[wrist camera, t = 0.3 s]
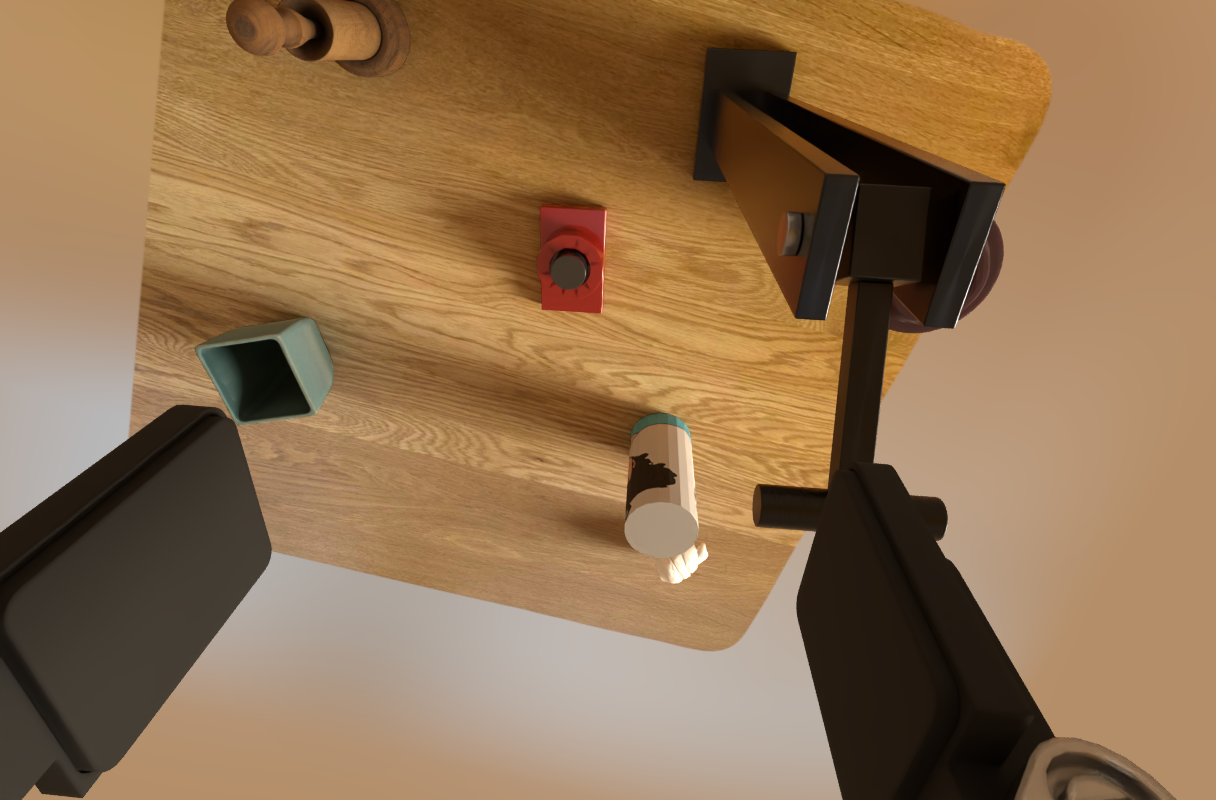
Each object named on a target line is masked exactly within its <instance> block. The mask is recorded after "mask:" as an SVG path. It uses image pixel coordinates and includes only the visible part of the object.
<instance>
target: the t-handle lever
mask: <svg viewBox="0 0 1216 800" xmlns="http://www.w3.org/2000/svg"><path fill="white" fill-rule="evenodd" d="M931 194H932V188H929V187H911V186H893V185H875V184H858V188H857V193H856V197H855V201H854V205H853V209H852V214H851V218H850V222H849V226H848V230H847V235H846V239H845V243H844V247H843V251H842V255H841V260H840V264H839V268H838V272H837V276H836V281H835V285H843V286H849V287H848V297H847V307H846V316H845V326H844V336H843V345H842V355H841V365H840V375H839V384H838V394H837V404H836V414H835V423H834V433H833V443H832V452H831V462H830V472H829V482H828V489H821V488H807V487H794V486H781V485H768V484H757V485H756V488H755V490H754V495H753V520H754V524H755V526H757V527H764V528H777V529H790V530H803V531H815V532H816V530H817V527H818V524H819V520H820V517H821V513H822V510H823V507H824V503H825V500H826V497H827V493H828V490H829V486H830V483H831V480H832V477H833V474H834V473H835V471H836V470H845V469H846V467H847V465H848V464H849V463H850V462H865V463H874V458H875V449H876V440H877V431H878V422H879V413H880V404H881V395H882V385H883V376H884V367H885V358H886V349H887V340H888V331H889V322H890V313H891V303H892V294H893V287H897V286H902V285H906V284H911V283H915V282H920V281H921V280H922V273H923V264H924V255H925V247H926V238H927V229H928V220H929V211H930V203H931ZM910 497H911V498H912V500H913V502H914V504H915V505H916V507H917V509H918V511H919V512H920V514H921V516H922V518H923V519H924V521H925V523H926V525H927V526H928V528H929V530H930V532H931V533H932V535H933V537H934V539H935V540H936V541H939V540H941V539H942V538H943V537H944V535H945V533H946V530H947V525H948V515H947V510H946V507H945V505H944V503H943V501H941V499H939V498H937V497H927V496H912V495H910Z"/></svg>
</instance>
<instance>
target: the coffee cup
mask: <svg viewBox="0 0 1216 800" xmlns="http://www.w3.org/2000/svg"><path fill="white" fill-rule="evenodd" d="M1003 253H1004V251H1003V240H1002V236H1001V232H1000V230H999V228H998V226H997V224H996V222H995V221H994V220H993V223H992V226H991V229H990V231H989V234H988V237H987V240H986V243H985V246H984V248H983V251H982V254H981V257H980V260H979V262H978V265H977V268H976V271H975V274H974V276H973V279H972V282H971V285H970V288H969V290H968V293H967V296H966V299H965V302H964V304H963V307H962V310H961V313H960V316H959V318H958V320H960V319H962V318H963V317H965V316H966V315H967V314H969V313H970V312H971V311H973V310H974V309H975V308H976V307H977V306H978V305H979V304H980V303H981V302H982V301H983V300H984V299H985V297H986V296H987V295H988V294H989V292H990V291H991V289H992V287H993V286H994V284H995V282H996V280H997V278H998V276H999V273H1000V270H1001V267H1002V262H1003V256H1004V254H1003ZM889 329H890V330H893V331H897V332H903V333H924V332H930V331H933V330H937V329H941V328H935V327H924V326H923V325H922V324H921V323H920V322H919V321H918V320H917V319H916V318H915V317H914V316H913V315H912V314H911V312H910V311H909V310H908V309H907V308H906V307H905V306H904V305H903V304H902V303H901V302H900V301H899V300H898V299H897V298H896V297H895V295H894V294H892V303H891V313H890V322H889Z"/></svg>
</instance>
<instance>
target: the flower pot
mask: <svg viewBox="0 0 1216 800" xmlns="http://www.w3.org/2000/svg"><path fill="white" fill-rule="evenodd" d="M195 351H196V354H197V356H198V358H199V360H200V361H201V363H202V365H203V367H204V368H205V370H206V372H207V373H208V375H209V377H210V378H211V380H212V382H213V384H214V386H215V387H216V389H217V391H218V392H219V395H220V396H221V398H222V400H223V402H224V404H225V406H226V408H227V409H228V411H229V413H230V415H231V417H232V419H233V420H234V421H235V422H236V424H237V425H239V426H240V425H250V424H257V423H263V422H270V421H278V420H285V419H293V418H302V417H311V416H314V415H316V413H317V411H318V410H319V408H320V407H321V405H322V403H323V402H324V400H325V398H326V396H327V395H328V393H329V391H330V389H331V387H332V384H333V378H334V371H333V365H332V360H331V357H330V355H329V353H328V350H327V348H326V346H325V344H324V342H323V339H322V337H321V335H320V332H319V330H318V328H317V325H316V323H315V322H314V321H313V320H312V319H310V318H296V319H290V320H284V321H278V322H271V323H265V324H258V325H251V326H245V327H240V328H236V329H233V330H230V331H228V332H226V333H223V334H221V335H219V336H217V337H215V338H212V339H210V340H208V341H206V342H204V343H202V344H199V345H197V346H196V347H195Z"/></svg>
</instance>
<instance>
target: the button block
mask: <svg viewBox="0 0 1216 800" xmlns="http://www.w3.org/2000/svg"><path fill="white" fill-rule="evenodd" d="M606 218H607V208H606V207H591V206H573V205H556V204H542V205H541V206H540V234H541V251H540V253H539V255H538V257H537V274H538V277H539V279H540V280H541V299H542V310H556V311H571V312H586V313H602V311H603V295H604V269H605V243H606ZM566 250H573V251H576V252H578V253H580V254H581V255H582V256H583V257H584V258H585V260H586V262H587V266H588V270H587V274H586V277H585V280H584V282H583V283H582V285H581V286H579V287H578V288H576V289H573V290H566V289H562V288H560V287H559V286H557V285H556V284H555V283H554V281H553V279H552V277H551V266H552V264H553V262H554V260H555V258H556V256H557V255H558V254H559V253H561V252H563V251H566Z"/></svg>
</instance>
